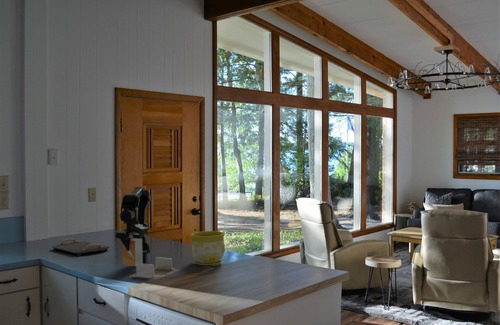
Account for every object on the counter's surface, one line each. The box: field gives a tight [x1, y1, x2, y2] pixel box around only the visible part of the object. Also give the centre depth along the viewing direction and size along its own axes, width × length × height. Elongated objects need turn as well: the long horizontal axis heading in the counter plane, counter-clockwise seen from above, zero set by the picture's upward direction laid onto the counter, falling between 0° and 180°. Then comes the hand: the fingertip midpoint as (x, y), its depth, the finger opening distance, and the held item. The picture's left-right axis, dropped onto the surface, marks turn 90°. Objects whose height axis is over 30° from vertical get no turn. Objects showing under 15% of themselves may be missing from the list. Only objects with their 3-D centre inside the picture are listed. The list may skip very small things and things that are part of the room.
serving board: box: [51, 238, 111, 257], centre depth 331 cm, size 39×23×6 cm, turn 46°
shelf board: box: [129, 266, 181, 280], centre depth 262 cm, size 20×17×1 cm
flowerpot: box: [190, 230, 226, 267], centre depth 282 cm, size 18×18×16 cm
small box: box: [121, 237, 143, 267], centre depth 268 cm, size 8×6×13 cm
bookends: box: [133, 256, 176, 279], centre depth 262 cm, size 20×10×6 cm, turn 152°
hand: (132, 249), depth 268 cm, fingers closed on small box, 6 cm apart
